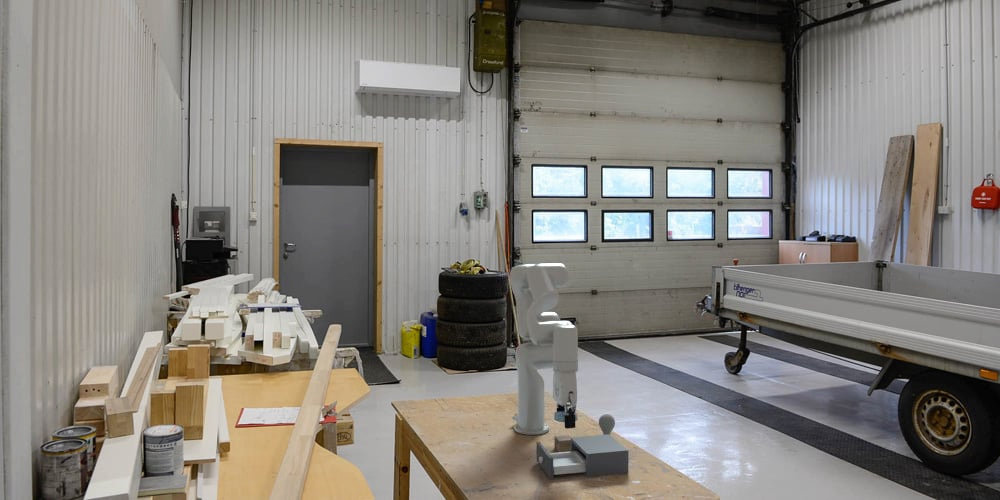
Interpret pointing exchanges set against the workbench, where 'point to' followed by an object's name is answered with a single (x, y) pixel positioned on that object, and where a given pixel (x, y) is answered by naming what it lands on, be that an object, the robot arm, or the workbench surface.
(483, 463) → the workbench surface
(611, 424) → the light bulb
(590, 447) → the box
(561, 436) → the brown block
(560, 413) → the pale blue dome cap
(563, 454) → the grey drawer
